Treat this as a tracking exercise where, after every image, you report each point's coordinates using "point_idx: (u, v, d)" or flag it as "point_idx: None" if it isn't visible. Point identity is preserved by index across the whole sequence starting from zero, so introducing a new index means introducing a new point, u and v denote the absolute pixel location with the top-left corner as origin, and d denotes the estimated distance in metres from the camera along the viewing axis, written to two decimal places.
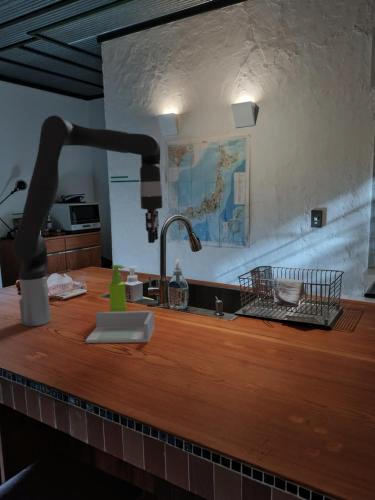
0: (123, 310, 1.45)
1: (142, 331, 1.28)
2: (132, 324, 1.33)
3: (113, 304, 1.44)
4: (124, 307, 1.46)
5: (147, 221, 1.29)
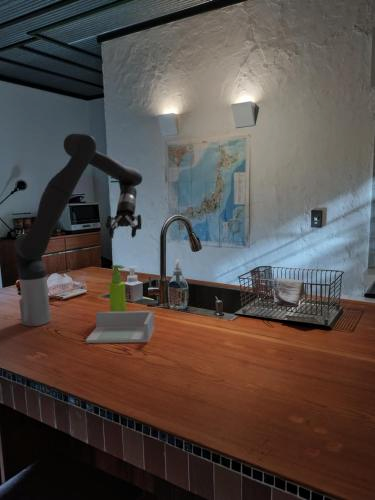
0: (123, 310, 1.45)
1: (142, 331, 1.28)
2: (132, 324, 1.33)
3: (113, 304, 1.44)
4: (124, 307, 1.46)
5: (140, 220, 1.58)
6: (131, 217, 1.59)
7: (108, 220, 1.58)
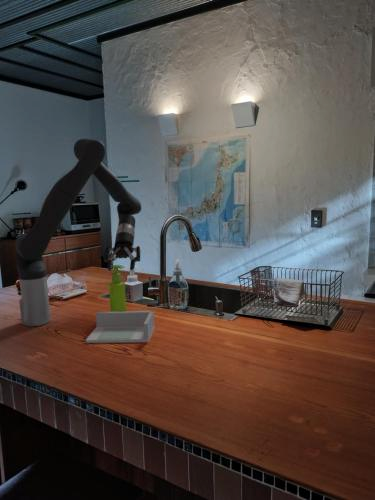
0: (123, 310, 1.45)
1: (142, 331, 1.28)
2: (132, 324, 1.33)
3: (113, 304, 1.44)
4: (124, 307, 1.46)
5: (139, 252, 1.54)
6: (130, 249, 1.55)
7: (106, 252, 1.55)
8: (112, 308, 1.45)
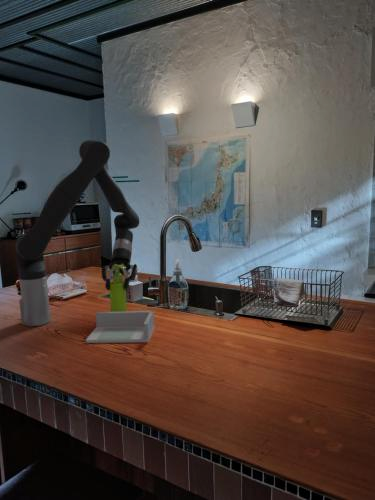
0: (123, 310, 1.45)
1: (142, 331, 1.28)
2: (132, 324, 1.33)
3: (113, 303, 1.44)
4: (124, 307, 1.46)
5: (135, 271, 1.47)
6: (127, 266, 1.48)
7: (103, 270, 1.48)
8: (112, 308, 1.45)
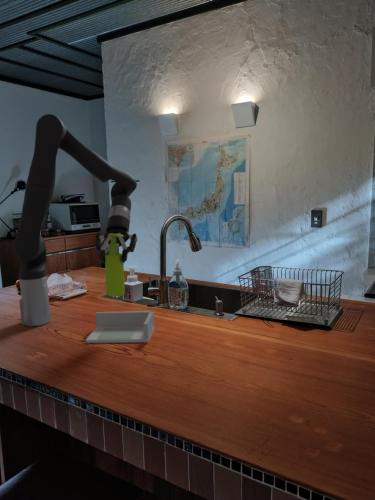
0: (121, 287, 1.25)
1: (142, 331, 1.28)
2: (132, 324, 1.33)
3: (109, 278, 1.24)
4: (122, 283, 1.25)
5: (134, 241, 1.27)
6: (124, 236, 1.28)
7: (97, 240, 1.27)
8: (108, 284, 1.24)
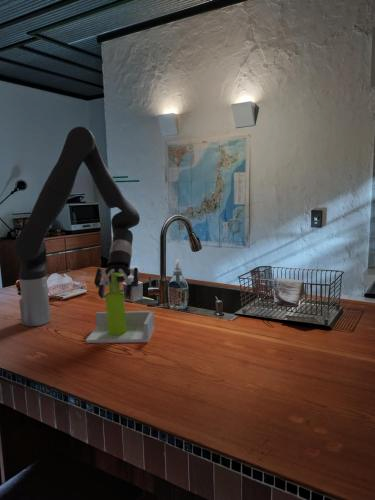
0: (122, 325, 1.25)
1: (142, 331, 1.28)
2: (132, 324, 1.33)
3: (110, 317, 1.24)
4: (123, 321, 1.26)
5: (137, 275, 1.27)
6: (126, 271, 1.28)
7: (97, 275, 1.28)
8: (109, 322, 1.25)
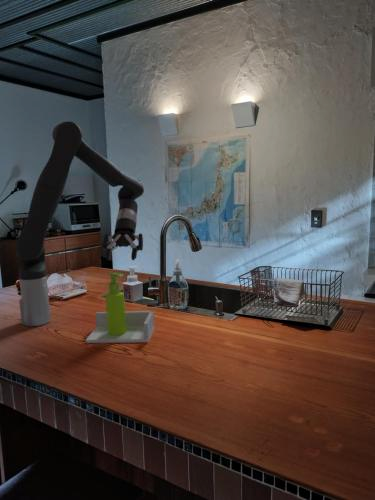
0: (122, 325, 1.25)
1: (142, 331, 1.28)
2: (132, 324, 1.33)
3: (110, 317, 1.24)
4: (123, 321, 1.26)
5: (142, 240, 1.39)
6: (131, 236, 1.40)
7: (105, 239, 1.39)
8: (109, 323, 1.25)
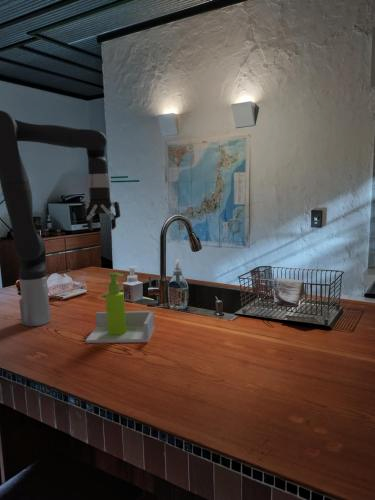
0: (122, 325, 1.25)
1: (142, 331, 1.28)
2: (132, 324, 1.33)
3: (110, 317, 1.24)
4: (123, 321, 1.26)
5: (118, 209, 1.46)
6: (107, 205, 1.45)
7: (83, 209, 1.46)
8: (109, 323, 1.25)
